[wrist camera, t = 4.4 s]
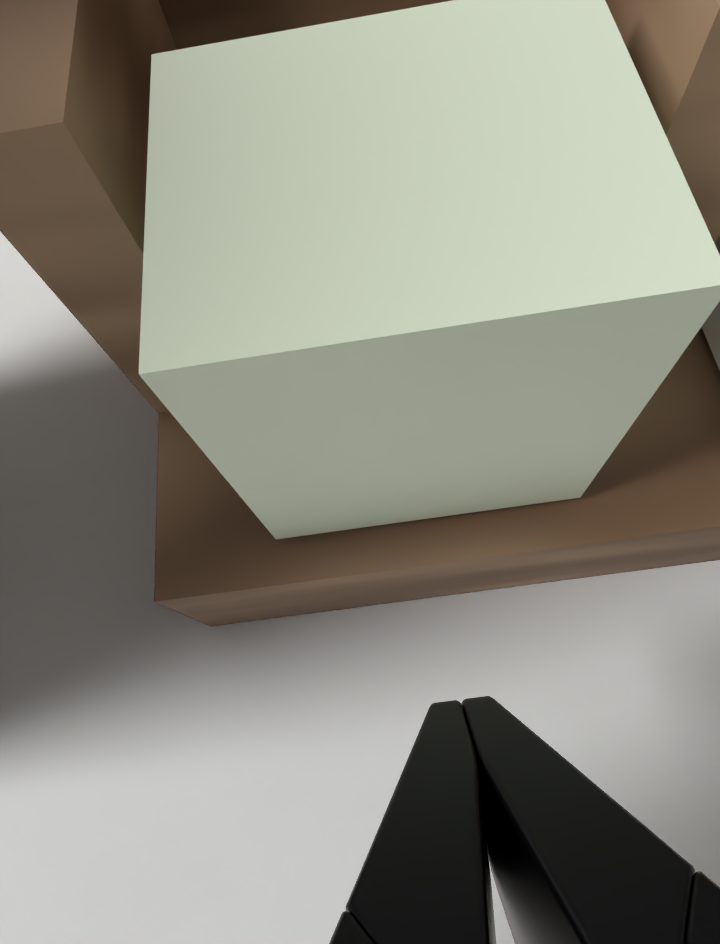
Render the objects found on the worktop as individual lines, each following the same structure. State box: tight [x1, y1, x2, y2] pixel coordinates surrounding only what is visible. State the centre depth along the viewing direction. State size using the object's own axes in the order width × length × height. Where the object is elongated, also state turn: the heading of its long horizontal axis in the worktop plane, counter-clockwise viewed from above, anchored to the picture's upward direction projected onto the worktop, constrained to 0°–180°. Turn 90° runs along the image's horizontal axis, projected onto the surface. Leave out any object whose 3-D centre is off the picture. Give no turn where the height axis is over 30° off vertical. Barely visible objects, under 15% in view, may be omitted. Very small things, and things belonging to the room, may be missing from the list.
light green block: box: [139, 0, 720, 539], centre depth 11 cm, size 6×7×7 cm
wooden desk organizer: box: [0, 0, 720, 626], centre depth 14 cm, size 15×24×13 cm, turn 96°
